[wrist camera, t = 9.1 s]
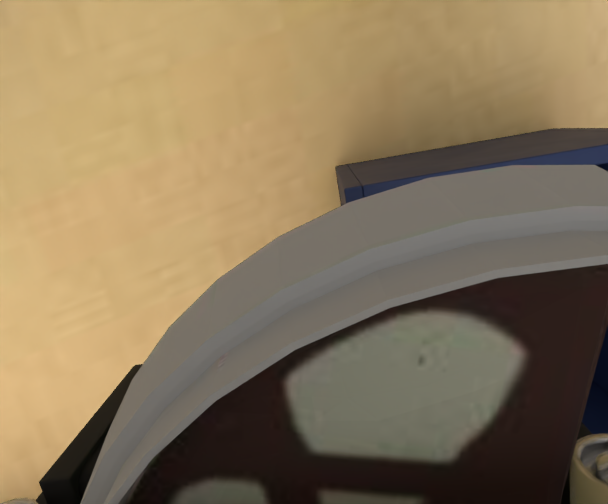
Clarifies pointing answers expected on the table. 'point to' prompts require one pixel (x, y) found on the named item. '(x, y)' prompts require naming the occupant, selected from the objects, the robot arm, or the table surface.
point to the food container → (383, 355)
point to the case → (484, 155)
